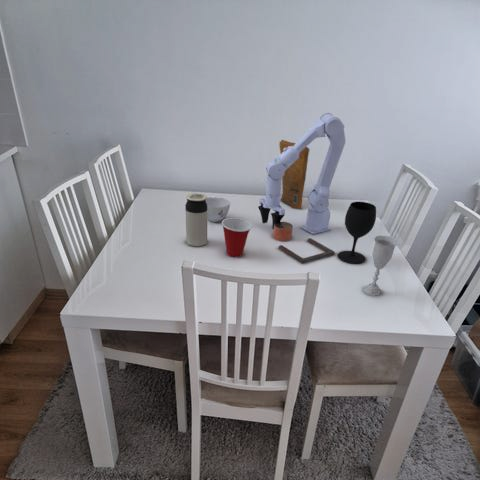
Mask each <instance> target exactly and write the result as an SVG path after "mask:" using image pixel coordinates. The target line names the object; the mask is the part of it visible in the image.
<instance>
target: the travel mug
mask: <svg viewBox="0 0 480 480" xmlns="http://www.w3.org/2000/svg"><path fill="white" fill-rule="evenodd" d="M185 198H186V203H185V239H186V240H185V241H186V244H187V245H189V246H192V247H202V246H205V245H207V244H208V218H207V203H206V198H208V197H207V195H206V194H204V193H201V192H200V193H199V192H191V193H188V194H186V196H185Z"/></svg>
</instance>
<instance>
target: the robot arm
mask: <svg viewBox="0 0 480 480" xmlns="http://www.w3.org/2000/svg"><path fill="white" fill-rule="evenodd" d="M326 137H327V140H328V142H329V146H328V149H327V152H326V156H325V158H324V161H323V164H322V167H321V170H320V172H319V176H318V178H317V182H316V183H315V184H314V185H313V187H312V189H311V191H310V192H309V193H308V195H307V200H308V202H309V205H307V206H308V207H307V213H306V219H305V224H304V225H301V226H300V228H301V229H303V230H305V231H306V232H308V233H309V234H312V235H316V234H319V233H323V232H328V231H330V228H329V224H330V220H331V219H330V218H331V211H330V209H329V208H328V207H329V206H330V204H329V203H330V202H329V199H330V196H331V195H330V187H331V185H332V181H333V179H334V176H335V173H336V171H337V167H338V165H339V161H340V159H341V156H342V154H343V150H344V147H345V144H346V135H345V124H344V123H343V121H342V120H341V119H340V118H339V117H337V116H335V115H333V113H331V112H326V113H325V112H324V113H323V114H322V115H321V116H320V117H319V118H317V119H316V120H315V121H314V122H313V124H312V125H311V126H310V127H309V129H308V130H307V131H305V132H304V133H303V135H302V136H301V137H300V138H299V139H298V140H297V142H295V143H296V144H295V145H294V146H288V147H287V148H286V147H285V148H284V149H283V150H284V151H283V152H282V153H281V154H279V155H278V156H277V157H275V158H273V160H272V161H270V162H269V163H268V164H267V167H266V168H265V169H266V173H267V180H266V187H265V198H259V205H258V206H257V208H258V211H259V213H260V217H261V223H262V224H267V223H268V221H269V216H270V215H271V220H272V226H271V227H272V230H273V231H274V224H275V223H277V222H282V220H283V218H284V217H285V215H286V213H285V212H286V209H285V208H283V207H282V205H280V202H281V191H282V177H283V176H284V173H285V170H287V169H288V168H289V167H290V166H291V165H292V164H293V163H294V162H295V161H296V160H297V159H298V158H299V153H300V152H301V151H302V150H303V149H304V148H305V147H308V146H309V145H310V144H311V143H312V142H314V141H315V140H316V139H318V138H326ZM271 210H272V211H274V212H272V213H270V212H271Z"/></svg>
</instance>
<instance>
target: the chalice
mask: <svg viewBox="0 0 480 480" xmlns="http://www.w3.org/2000/svg"><path fill="white" fill-rule="evenodd" d="M398 243H399V242H398V241H397V240H396V239H395V238H393V237H392V236H388V235H377V236H375V237H374V246H373V250H372V261H373V266H374V268H376V270H375V271H374V276H373V277H372V280H373V281H372V282H370V283H368V284H367V286H366V287H365V288H364V289H363V290H364V292H365V293H366V294H367V295H370V296H379V295H381V291H380V286H379V284H377V282H378V280H379V275H380V271H381V270H383V269H384V268H385V267H386V266H387V265H388V264H389V262H390V261H391V259H392V258H393V254H394V251H395V249H396V246H397V245H398Z"/></svg>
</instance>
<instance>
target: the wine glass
mask: <svg viewBox="0 0 480 480" xmlns="http://www.w3.org/2000/svg"><path fill="white" fill-rule="evenodd" d="M376 219H377V207H376V205H374V204H373V203H370V202H366V201H352V202H351V203H350V204H349V206H348V208H347V211H346V213H345V217H344V226H345V229H346V230H347V233H348V234H349V235H350V236H351V237H353V242H352V247H351V250H341V251H339V252H338V253H337V258H338V259H339V260H340V261H342V262H343V263H346V264H350V265H361V264H364V263H365V262H366V260H367V259H366V257H365V255H364V254H362V253H360V252H358V251H355V250H356V246H357V242H358V240H359V239H360V238H363V237H364V236H366V235H368V234H369V233H370V232H371V231H372V229H373V228H374V226H375V224H376Z"/></svg>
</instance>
